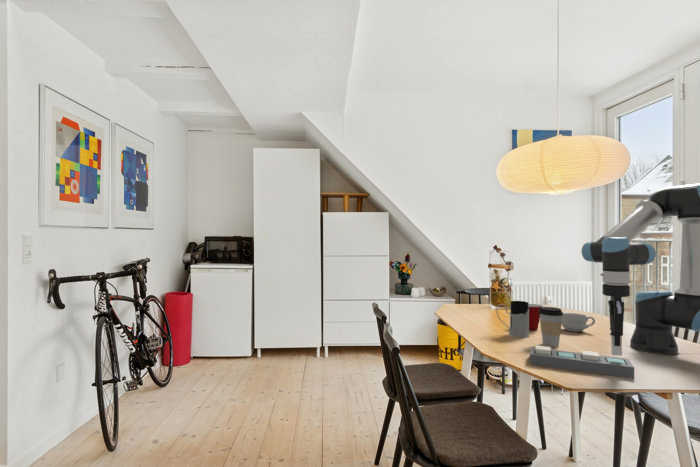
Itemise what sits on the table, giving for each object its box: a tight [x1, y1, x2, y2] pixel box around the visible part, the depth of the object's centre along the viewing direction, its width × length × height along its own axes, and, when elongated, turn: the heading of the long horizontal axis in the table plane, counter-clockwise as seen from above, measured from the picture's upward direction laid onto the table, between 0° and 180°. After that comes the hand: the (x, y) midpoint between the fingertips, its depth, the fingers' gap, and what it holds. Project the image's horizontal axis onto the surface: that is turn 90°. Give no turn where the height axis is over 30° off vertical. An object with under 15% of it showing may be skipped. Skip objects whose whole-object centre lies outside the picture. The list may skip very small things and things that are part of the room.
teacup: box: [561, 312, 596, 333], centre depth 186 cm, size 14×11×8 cm
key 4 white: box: [535, 344, 552, 355], centre depth 140 cm, size 5×5×2 cm
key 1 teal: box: [606, 358, 626, 364], centre depth 130 cm, size 5×5×2 cm
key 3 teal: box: [558, 352, 575, 358], centre depth 137 cm, size 5×5×2 cm
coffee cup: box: [538, 306, 564, 348], centre depth 162 cm, size 9×9×15 cm
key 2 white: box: [581, 350, 600, 361], centre depth 133 cm, size 5×5×2 cm
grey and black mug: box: [495, 300, 531, 339], centre depth 178 cm, size 9×14×15 cm, turn 75°
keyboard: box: [529, 346, 635, 379], centre depth 135 cm, size 30×10×4 cm, turn 64°
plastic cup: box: [529, 303, 544, 331], centre depth 191 cm, size 11×11×12 cm
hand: (616, 354), depth 130 cm, fingers closed
